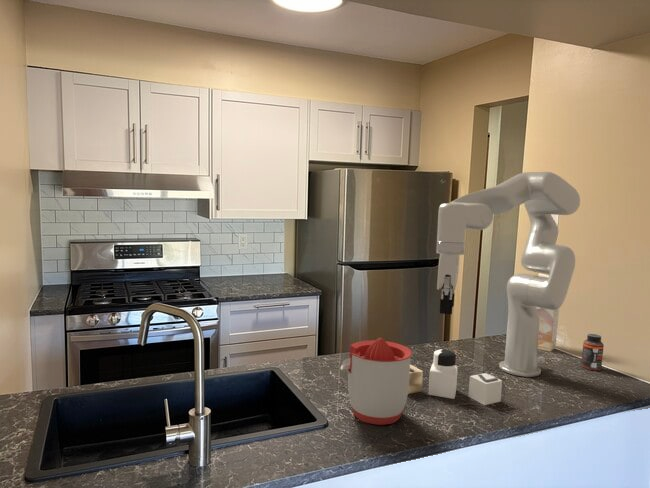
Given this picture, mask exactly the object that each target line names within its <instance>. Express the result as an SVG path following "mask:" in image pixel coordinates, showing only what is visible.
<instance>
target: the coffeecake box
mask: <svg viewBox="0 0 650 488" xmlns="http://www.w3.org/2000/svg"><path fill="white" fill-rule="evenodd" d="M535 307H536V306H535ZM536 309H537V311H538V314H539V318H540V324H539V336H538V348H537V350H542V351H546V352H549V353H551V352H552V351H553V350H555V348H556V346H557V335H558V324H559V323H558V322H559V314H560V313H559V312H560V308H558V309H556V310H549V309H544V308H540V307H536Z"/></svg>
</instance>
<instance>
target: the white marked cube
mask: <svg viewBox="0 0 650 488" xmlns="http://www.w3.org/2000/svg"><path fill="white" fill-rule="evenodd" d="M502 388H503V380H502V379H499V378H497V377H495V376H494V375H490V374H488V373H487V372H485V373H478V374H472V375H469V384H468V397H469V398H470V399H472V400H474V401H475V402H478V403H479V404H481V405H483V406H487V405H492V404H495V403H499V402H501V401H502V400H501V399H502V390H503V389H502Z"/></svg>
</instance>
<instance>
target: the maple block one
mask: <svg viewBox="0 0 650 488" xmlns="http://www.w3.org/2000/svg"><path fill="white" fill-rule="evenodd" d="M423 374H424V370H421V369H419V368H418V367H417V366H415V365H413V364H411V363H410V373H409V389H408V395H409V394H415V393H419V392H423V376H424V375H423Z"/></svg>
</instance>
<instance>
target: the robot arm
mask: <svg viewBox="0 0 650 488" xmlns="http://www.w3.org/2000/svg"><path fill="white" fill-rule="evenodd" d="M580 203H581V197H580V193H579V192H578V190H577V189H576V188H575V187H574V186H573V185H571V184H570V183H569V182H567V180H565V179H564V178H563V177H561V176H559V174H556V173H553V172H551V171H534V172H533V171H528V172H525V171H524V172H521V173H519V174H516V175H514V176H512V177H510V178H508V179H507V180H504V181H502V182H501V183H499V184H497V185H495V186H491V187H487V188H484V189H482V190H481V189H480V190H477V191H474V192H471V193H467V194H464V195H462V196H459V197H458V198H456V199H454V200H452V201H450V202H447V203H446V202H445V203H440V205H439V207H438V216H437V234H436V236H437V237H436V250H435V251H436V254H439V259H438V267H437V268H438V269H437V282H436V284H437V285H436V289H437V290H438V291H439V290H441V297H440V301H439V302H440V303H439V313H440V314H443V315H452V313H453V307H454V306H455V305H454V304H455V291H456V288H457V284H458V278H459V269H460V256H464V255H465V249H466V237H467V236H466V233H467V230H470V231H471V230H472V231H482V230H486V229H487V228H489V227H490V226H491V224H492V223H493V221H494V215H499V214H505V213H509V212H511V211H513V210H514V209H516V208H517V207H519V206H521V205H522V204H523V205H524V208H525V211H526V212H527V215H528V216H527V217H528V219H529V224H530V227H529V232H528V235H527V239H526V242H525V244H524V248H523V251H522V253H521V254H522V255H521V258H520V259H521V260H520V263H521V266H522V268H524V269H525V270H527V271H528V272H529V271H530V272H533V273H538V274H539V273H540V274H546V275H548V277H545V276H539V275H535V274H528V273H517V274H513V275H512V276H510V278H509V279H508V280H507V283H506V296H507V305H508V308H507V310H508V311H507V312H508V313H507V325H506V326H507V327H506V339H505V348H504V349H505V351H504V360H502V361H500V362H499V364H498V366H499V367H498V368H499V369H500V370H501V371H503V372H505V373H507V374H510V375H514V376H516V377H517V376H518V377H526V378H531V377H532V378H533V377H539V375H541V371H542V370H541V368H540V367H539V366H538V365H539V364H541V363H544V362H545V361H546V357H545V356H538V349H537V348H538V336H539V324H540V318H539V314H538V311H537V309H536V307H540V308H544V309H549V310H556V309H558V308H559V309H560V308H561V307H562V306H563V304H564V302H565V299H566V296H567V294H568V291H569V287H570V284H571V282H572V278H573V275H574V271H575V267H576V255H575V253H574V251H573V250H572V248H570V247H569V246H566V245H559V244H557V240H558V237H559V227H558V224H557V223H556V221H555V219H554V217H553V216H554V215H557V216H558V215H559V216H570V215H572V214H574V213H576V212H577V210H578V209H579V207H580V205H581V204H580ZM552 215H553V216H552ZM535 306H536V307H535Z"/></svg>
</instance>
